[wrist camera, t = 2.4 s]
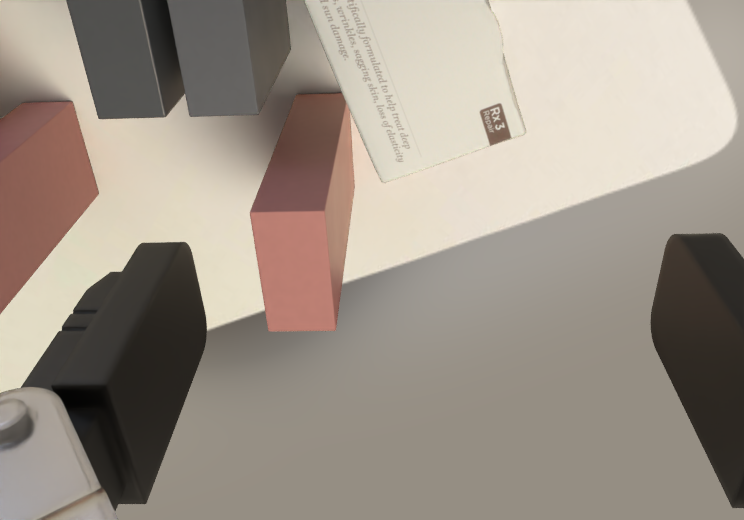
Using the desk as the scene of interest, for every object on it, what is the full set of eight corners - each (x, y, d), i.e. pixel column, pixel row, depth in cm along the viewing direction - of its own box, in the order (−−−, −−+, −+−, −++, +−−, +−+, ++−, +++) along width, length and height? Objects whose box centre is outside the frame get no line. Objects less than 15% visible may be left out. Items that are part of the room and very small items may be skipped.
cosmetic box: (322, -88, 34) (275, -35, 21) (438, -138, 32) (462, -115, 20) (382, 70, 38) (372, 192, 25) (487, 31, 37) (532, 140, 24)
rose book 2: (295, 94, 39) (249, 212, 27) (348, 92, 39) (324, 210, 27) (306, 189, 42) (268, 331, 30) (354, 188, 42) (335, 331, 30)
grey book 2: (215, -91, 34) (154, -63, 25) (276, -94, 34) (233, -66, 25) (237, 51, 38) (189, 117, 29) (291, 49, 37) (258, 115, 29)
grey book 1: (136, -88, 34) (49, -58, 26) (196, -90, 34) (127, -62, 25) (165, 54, 38) (97, 120, 29) (219, 52, 38) (166, 118, 29)
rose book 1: (22, 102, 40) (-139, 220, 28) (72, 101, 39) (-68, 218, 28) (52, 194, 43) (-80, 335, 31) (99, 193, 43) (-17, 335, 31)
